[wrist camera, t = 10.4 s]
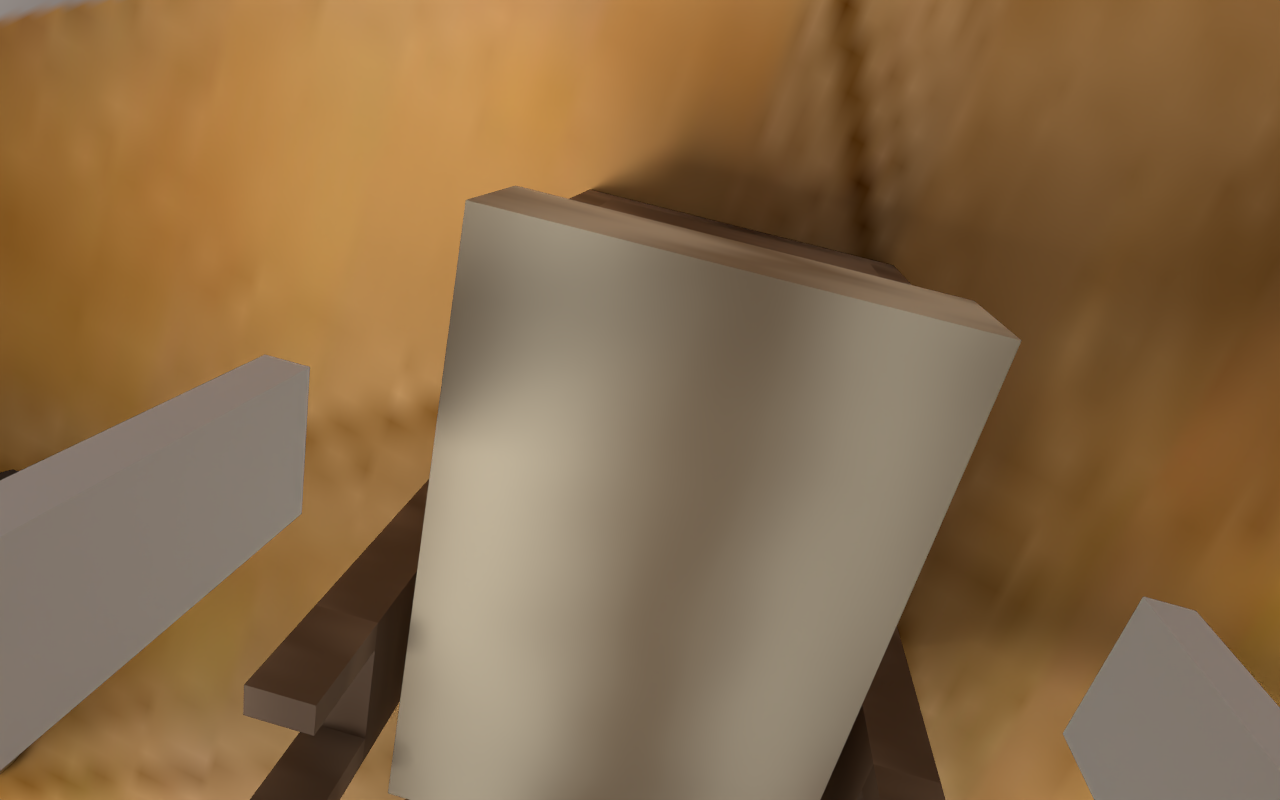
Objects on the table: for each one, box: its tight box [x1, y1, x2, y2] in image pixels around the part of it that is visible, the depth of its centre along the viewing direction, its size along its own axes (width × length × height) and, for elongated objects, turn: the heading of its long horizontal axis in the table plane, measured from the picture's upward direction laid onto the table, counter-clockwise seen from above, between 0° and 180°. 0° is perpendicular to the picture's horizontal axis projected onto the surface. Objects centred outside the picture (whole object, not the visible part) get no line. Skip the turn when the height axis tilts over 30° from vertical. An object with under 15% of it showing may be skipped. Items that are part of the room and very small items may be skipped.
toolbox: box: [243, 190, 945, 800], centre depth 19 cm, size 14×14×12 cm
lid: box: [388, 186, 1022, 800], centre depth 17 cm, size 10×15×3 cm, turn 167°
